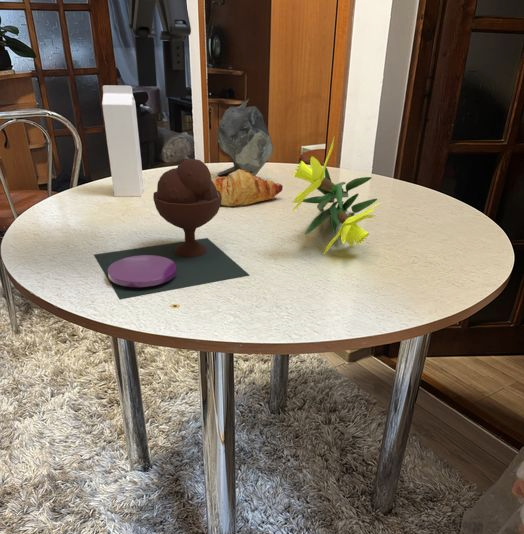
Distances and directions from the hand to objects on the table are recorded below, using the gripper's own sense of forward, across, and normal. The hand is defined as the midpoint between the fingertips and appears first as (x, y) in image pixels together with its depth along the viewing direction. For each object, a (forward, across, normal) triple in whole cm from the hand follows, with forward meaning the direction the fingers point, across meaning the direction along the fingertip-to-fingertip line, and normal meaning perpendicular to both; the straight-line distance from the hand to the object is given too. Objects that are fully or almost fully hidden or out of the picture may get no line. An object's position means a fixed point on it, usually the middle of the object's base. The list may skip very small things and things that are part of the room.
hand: (161, 91), depth 74 cm
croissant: (+25, +24, -23) cm, 41 cm away
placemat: (+24, -6, +2) cm, 25 cm away
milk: (+25, +39, -3) cm, 46 cm away
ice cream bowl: (+24, -2, -3) cm, 24 cm away
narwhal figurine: (+25, +39, -32) cm, 56 cm away
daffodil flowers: (+24, -3, -30) cm, 39 cm away
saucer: (+24, -9, +7) cm, 27 cm away
